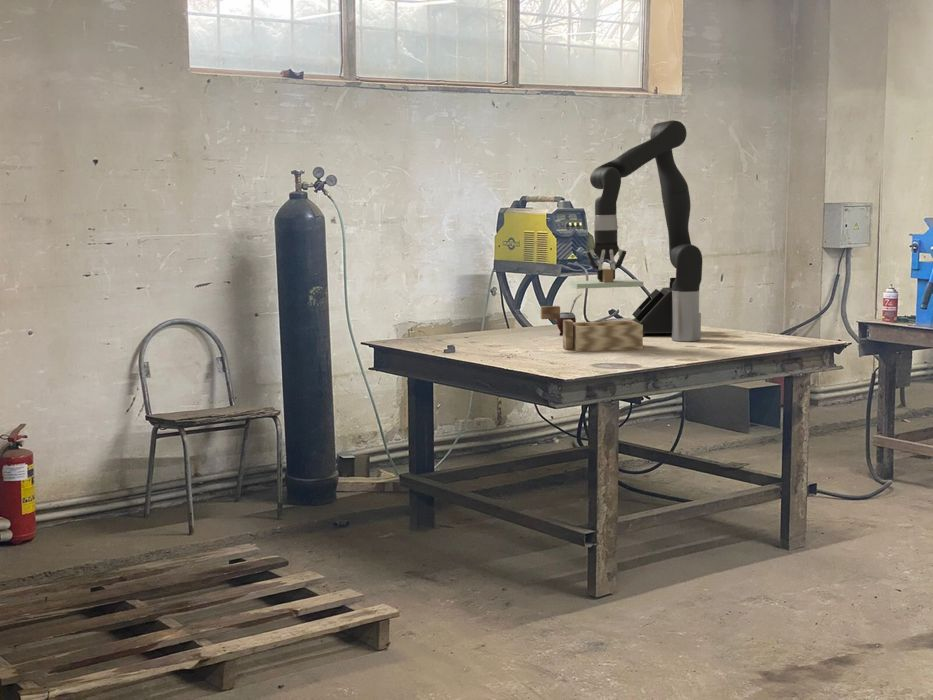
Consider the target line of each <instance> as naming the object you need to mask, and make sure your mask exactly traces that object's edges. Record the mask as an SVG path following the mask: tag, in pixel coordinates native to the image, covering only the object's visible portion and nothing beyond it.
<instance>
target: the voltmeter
mask: <svg viewBox="0 0 933 700" xmlns="http://www.w3.org/2000/svg"><path fill="white" fill-rule="evenodd" d="M675 278H676V277H670V278H669V282H668V283H669V287H662V288H661V289H660V290H658V289H657V288H655V289H654V290H653V291H652V292H651V293H650V294H649V295H648V296H647V297H646V299H644V301H643V302H641V304H640V305H639V306H638V307H637V308H636V309H635V311H634V312H633V313H632V316H633V317H634V318H633V319H632V321H635V322H637V323H639V324H641V325H643V337H645V336H646V334H664V333H665V334H670V333H671V334H672V291H673V290H672V284H673V282H674V281H675ZM650 296H651V297H652V299H651V298H650Z"/></svg>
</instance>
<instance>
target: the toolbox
mask: <svg viewBox="0 0 933 700" xmlns="http://www.w3.org/2000/svg"><path fill="white" fill-rule="evenodd" d="M643 338H644V336H643V325H641V324H639V323H637V322H635V321H633V320H630V321H629V320H628V321H627V320H626V321H587V322H576V323H573V321H572V320H563V336H562V348H563V349H564V350H565V351H571V350H572V351H576V352H588V351H589V352H591V351H592V352H596V351H597V352H599V351H624V350H625V351H627V350H628V351H631V350H633V351H634V350H635V349H636V350H643V349H644V348H643V346H644V343H643V342H644V341H643Z"/></svg>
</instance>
